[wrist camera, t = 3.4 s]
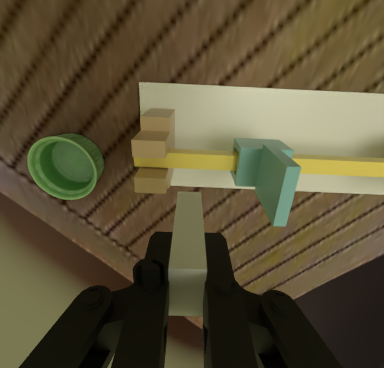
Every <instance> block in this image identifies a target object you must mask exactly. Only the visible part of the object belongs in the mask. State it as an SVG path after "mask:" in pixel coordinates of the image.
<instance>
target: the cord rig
mask: <svg viewBox="0 0 384 368" xmlns="http://www.w3.org/2000/svg"><path fill="white" fill-rule="evenodd" d="M139 94H140V114H141V116H140V124H141V131H140V132H139V133H138V134H137V135H136V136H135V137H134V138H133V139H132V140H131V144H132V157H134V166H139V167H140V168H139V170H138V171H137V173H136V175H135V176H134V186H135V193H158V194H166V190H167V188H170V185H171V186H194V187H217V188H241V189H255V187H246V186H236V185H235V183H234V180H233V178H232V175H231V173H230V171H236V168H237V161H238V152H237V151H233V144H234V138H252V139H274V140H280V141H282V142H283V143H284V144H286V145H287V146H289V147H290V148H291V149H293V150H294V152H293V156H292V160H293V161H295V162H296V163H297V164H298V165H300V166H301V171H300V175H299V179H298V182H297V186H296V190H295V191H310V192H333V193H356V194H380V195H384V94H380V93H360V92H339V91H319V90H298V89H278V88H257V87H237V86H216V85H196V84H175V83H155V82H139Z"/></svg>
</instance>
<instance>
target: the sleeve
mask: <svg viewBox="0 0 384 368" xmlns="http://www.w3.org/2000/svg"><path fill="white" fill-rule="evenodd" d="M233 151H237V152H238V161H237V168H236V171H230V173H231V175H232V178H233V180H234V183H235V185H236V186H246V187H255V193H256V195H257V197H258V199H259V201H260V203H261V204H262V206H263V208H264V210H265V212H266V214H267V216H268V217H269V219H270V221H271V223H272V225H273V226H286V223H287V219H288V216H289V212H290V208H291V205H292V201H293V197H294V193H295V190H296V186H297V182H298V179H299V175H300V171H301V166H300V165H298V164H297V163H296V162H295V161H293V160H292V156H293V152H294V150H293V149H291V148H290V147H289V146H287V145H286V144H284V143H283V142H282V141H280V140H274V139H252V138H234V144H233Z"/></svg>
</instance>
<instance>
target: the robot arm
mask: <svg viewBox="0 0 384 368" xmlns="http://www.w3.org/2000/svg"><path fill="white" fill-rule="evenodd" d="M133 279H134V284H132V285H131V286H129V287H127V288H124V289H121V290H117V291H113V292H111V291H110V289H109V288H107V287H105V286H100V285H96V286H92V287H89V288H87V289H85V290H83V291H82V292H81V293H80V294H79V295H78V296H77V297H76V298H75V299H74V301H73V302H72V303H71V304H70V306H69V307H68V308H67V309H66V310H65V312H64V313H63V314H62V315H61V317H60V318H59V319H58V320H57V321H56V323H55V324H54V325H53V326H52V328H51V329H50V330H49V331H48V332H47V334H46V335H45V336H44V338H43V339H42V340H41V341H40V342H39V344H38V345H37V346H36V347H35V348H34V350H33V351H32V352H31V353H30V354H29V356H28V357H27V358H26V360H25V361H24V362H23V363H22V364H21V365H20V367H19V368H107V367H108V365H109V363H110V361H111V359H112V357H113V355H114V353H115V355H114V358H113V362H112V366H111V368H164V363H165V353H166V342H167V331H168V315H180V316H203V330H202V341H203V351H204V353H203V354H204V368H258V367H259V368H343V367H342V366H341V365H340V363H339V362H338V360H337V359H336V358H335V356H334V355H333V353H332V352H331V351H330V349H329V348H328V347H327V346H326V344H325V342H324V341H323V340H322V338H321V337H320V336H319V334H318V333H317V331H316V330H315V329H314V327H313V326H312V325H311V323H310V322H309V320H308V319H307V318H306V316H305V315H304V314H303V312H302V311H301V309H300V308H299V307H298V305H297V304H296V303H295V301H294V300H293V299H292V298H291V297H290V296H288V295H287V294H285V293H283V292H281V291H277V290H269V291H267V292H265V293H264V294H263V295H262V296H261V295H257V294H254V293H251V292H249V291H246V290H245V289H243V288H242V287H241V286H240V285H239V284H238V282H237V281H236V280H235V278H234V274H233V270H232V265H231V260H230V256H229V251H228V246H227V242H226V239H225V238H224V236H223V235H222V234H221V233H204V224H203V211H202V199H201V192H178V195H177V203H176V211H175V219H174V227H173V232H155V233H154V234H153V235H152V236H151V237H150V240H149V244H148V248H147V252H146V255H145V259H142V260H140V261H139V262H137V263H136V264H135V266H134V268H133Z"/></svg>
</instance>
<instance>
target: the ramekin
mask: <svg viewBox="0 0 384 368" xmlns="http://www.w3.org/2000/svg"><path fill="white" fill-rule="evenodd" d="M27 164H28V169H29V172H30V174H31V176H32V178H33V179H34V181H35V182H36V183H37V184H38V186H39V187H41V188H42V189H43V190H44V191H46V192H47V193H49V194H50V195H52V196H55V197H57V198H60V199H66V200H75V199H80V198H83V197H85V196H87V195H88V194H89V193H90V192H91V191H92V190H93V189H94V187H95V186H96V183H97V181H98V179H99V178H100V176H101V174H102V172H103V169H104V159H103V156H102V154H101V152H100V150H99V148H98V147H97V146H96V145H95V144H94V143H93V142H92V141H91V140H89V139H88V138H86V137H84V136H82V135H79V134H73V133H67V134H62V135H58V136H49V137H45V138H42V139H40V140H38V141H37V142H35V143H34V144H33V145H32V147H31V148H30V150H29V153H28V157H27Z"/></svg>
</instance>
